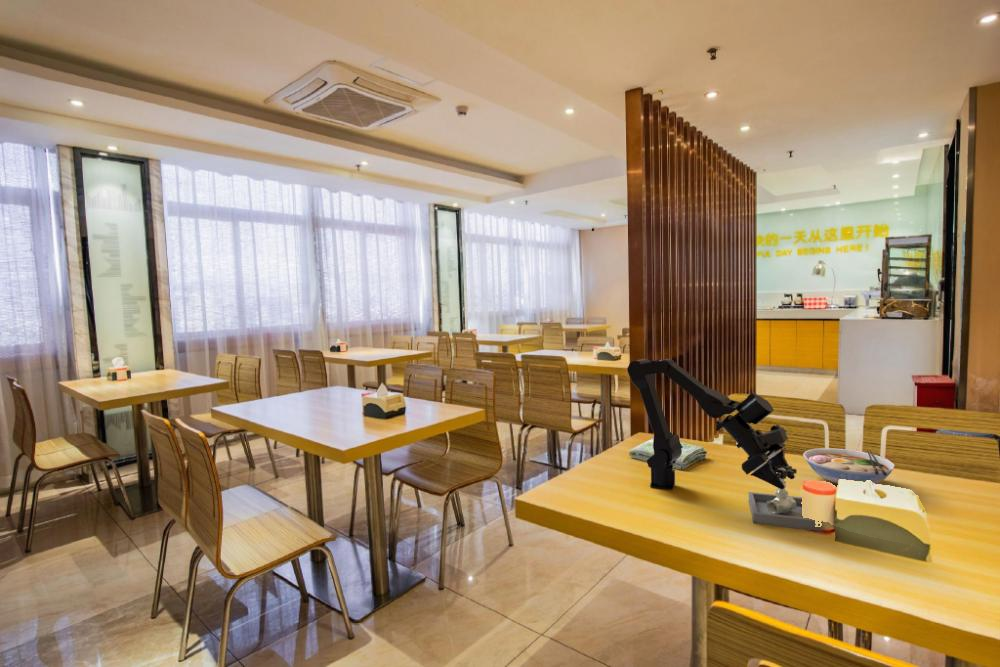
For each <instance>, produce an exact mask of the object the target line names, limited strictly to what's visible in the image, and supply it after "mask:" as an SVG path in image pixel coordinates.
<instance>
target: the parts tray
mask: <svg viewBox="0 0 1000 667" xmlns="http://www.w3.org/2000/svg"><path fill="white" fill-rule="evenodd" d="M790 496H791V497H792V498H793V499H794V500H795V501H796V509H794V510H790V511H789V512H788V513H785V514H781V513H778V514H772V513H770V512H769V510H768V509H767V501H771V500H774V499H775V498H776V497H777V496H776V495H775V493H773V494H772V493H764V492H763V493H762V492H754V491H748V500H747V501H748V503H749V505H748V506H749V509H750V514H751V517H752V521H753V524H758V525H764V526H765V525H766V526H774V527H775V526H776V527H782V528H791V529H801V530H807V531H816V532H823V528H824V526H823V525H822V526H821V527H815V525H816V524H815V520H812V519H809V518H803V516H802V504H801V502H802V497H803V496H802V497H801V496H792V495H790ZM818 522H819V521H818ZM821 523H823V520H822V522H821ZM823 524H824V523H823ZM818 526H820V524H818Z"/></svg>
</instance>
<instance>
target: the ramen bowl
mask: <svg viewBox="0 0 1000 667" xmlns="http://www.w3.org/2000/svg"><path fill="white" fill-rule="evenodd" d="M802 455H803V457H804V459H805V461H806V463H807V464H808V465H809V467H810V468H811V469H812V470H813V471H814V473H815V474H817V475H818V476H820V477H822V478H824V479H825V480H828V481H830V482H832V483H834V484H836V485H838V484H837V483H838V480H839V479H846V480H854V481H863V482H865V481H866V480H871V481H872V482H873V483H875V484H878V483H880V482H882V481H884V480H885V479H886V478H888V477H889V475H890V474H891V473H892V472H893V470H894V468H895V466H896V464H894V462H892V461H891V460H890V459H887V458H885V457H883V456H879V455H877V454H873V452H872V451H871V450H870V449H869V450H868V449H866V452H864V451H860V450H853V449H845V448H832V447H826V448H825V447H824V448H812V449H809V450H806V451H804V452H803V453H802Z"/></svg>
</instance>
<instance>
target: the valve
mask: <svg viewBox="0 0 1000 667" xmlns="http://www.w3.org/2000/svg"><path fill="white" fill-rule="evenodd" d="M772 469H773V470H774V472H775V473H776V475H777V476H778V477H779V479H780V480H781V481H782V483H783V484H784V486H785V488H786V487H787V482H786V481H785V480H786V479H787V475H788V474H789V473H790V475H791V476H795V474H797V469H796V468H793V466H792V465H789V466H787V467H786V466H783V465H782V464H778V466H775V465H774V464H772ZM777 469H778V470H777ZM785 488H784V489H779V488H777V489H775V491H774V492H775V493H774V495H776V496H777V497H776V498H775V499H774V500H771V501H767V509H768V510H769V512H770V513H772V514H778V513H781V514H785V513H788V512H789V511H790V510H794V509H796V501H795V500H794V499H793V498H792V497H791V496H792V495H789V491H788V490H786V489H785Z"/></svg>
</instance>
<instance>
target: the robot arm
mask: <svg viewBox="0 0 1000 667" xmlns="http://www.w3.org/2000/svg"><path fill="white" fill-rule="evenodd" d="M626 369H627V375H628V377H630V380H631V383H632V384H634V386H635V387H636V388H637V389H638V391H639V393H640V396H641V400H642V402H643V404H644V405H643V406H644V409H645V412H646V415H647V418H648V421H649V424H650V427H651V429H652V430H651V431H652V433H653V438H654V440H653V449H654V455H653V456H651V457H650V458H649V459H648V460H647V462H646V463H647V464H646V465H647V466H648V468H649V469H650V485H649V487H650V488H654V489H656V488H657V489H664V490H673V489H674V486H675V484H676V469H674V468H673V464H674V463H675V462H676V460H677V459H678V458H679V457H680V456H681V454H682V449H681V448H683V446H682V445H681V443H680V441H681V440H680V436H679V435H678V434H675V435H674V434H673V432H671V431H670V429H669V426H668V422H667V419H666V416H665V413H664V411H663V408H662V407H663V406H662V404H661V400H660V399H659V395H658V391H657V389H656V385H655V384H656V374H660V373H661V374H664V375H665V377H667V378H669V379H670V380H671V381H673V383H675V384H676V385H678V387H680V388H681V389H683V390H684V391H685V392H686V393H687V394H689V395H690V396H691V397H693V399H695V401H696V403H697V405H698V406H699V408H701V410H702V411H703V412H704V413H705V414H706V415H707V416H708V417H709V418H711V419H718V420H716V421H715V423H716V425H715V431H716V432H718V431H722V429H724V430H725V431H726V432H727V434H729V436H730V437H731V438H732V439H733V440H734V442H736V444H735V446H736V447H737V449H740V448H741V449H742V450H743V451H744V453H746V454H747V457H746V459H747V460H745V461H744V462H742V463H741V470H742V471H743V472H744V473H745V474H746V475H749V476H751V477H755V478H757V479H759V480H762V481H764V482H766V483H767V484H771V485H772V486H773V487H775V488H777V489H778V488H779V489H785V488H786V487H785V486H784V484H783V483H782V481H781V480H780V478H779V477H778V476H777V475H776V473H777V472H776V473H775V472H774V470H773V469H772V464H774V465H775V466H778V464H782V465H783V466H786V467H787V466H790V464H789V463H788V461H787V460H786V456H785V455H786V447H785V446H786V444H785V443H786V441H787V440H789V438H788V436H787V432H788V431H787V430H786V429H784V427H781V426H780V425H779V424H775V425H771V426H770V430H768V431H766V432H762V431H761V430H760V429H756V430H755V429H754V428H753V427H752V426H751V424H753V425H758V424H759V423H760V422H761V421H763V420H764V419H766V417H768V416H770V415H771V414H772V413H774V407H773V406H772V404H771V403H770V402H769V401H768V400H767V399H765V398H764V397H762V396H760V395H758V394H757V393H756V392H754V391H753V392H751V393H749V394H748V396H747V397H746V398H745V399H744V400H743V401H741V402H740V401H737V400H734V399H730V397H728V396H727V395H725V394H723V393H721V392H719V391H718V390H715V389H713V388H711V387H708V386H706V385H705V384H703V383H702V382H701V381H699V380H698V379H697V378H695V377H694V376H693V375H692V374H690V373H689V372H687V370H685V369H683V367H681V366H679V364H677V363H676V361H674V360H673V359H672V358H664V359H657V360H649V358H641V359H638V360H633V361H631V362H630V363H629V364H628V366H627V368H626ZM735 412H737V413H735ZM733 413H735V414H734V415H732V414H733ZM725 415H727V416H726V417H725V418H723V419H722V420H721V419H719V418H722V417H724V416H725ZM784 447H785V448H784ZM777 470H778V469H777ZM786 478H789V479H790V480H793V479H795V478H796V476H795V475H794V476H791V475H790V473H789V474H788V475H787V476H786Z"/></svg>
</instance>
